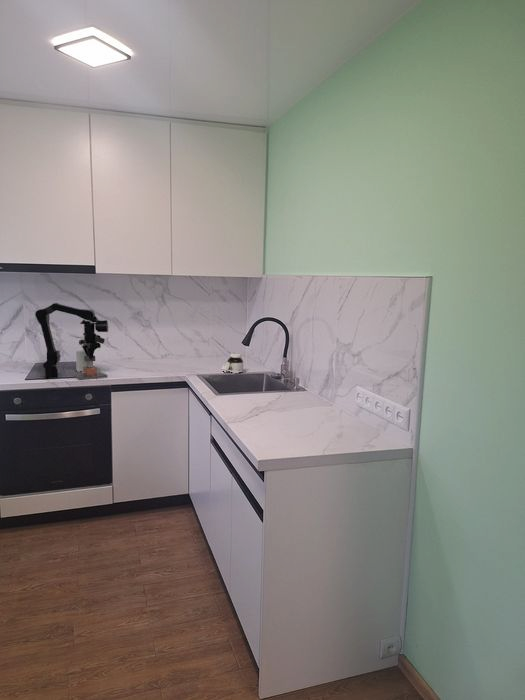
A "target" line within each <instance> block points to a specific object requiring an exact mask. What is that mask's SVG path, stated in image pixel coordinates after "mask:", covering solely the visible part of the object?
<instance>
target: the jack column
mask: <svg viewBox="0 0 525 700" xmlns="http://www.w3.org/2000/svg"><path fill="white" fill-rule="evenodd" d="M84 358H85V361H86V362H87V367H88V368H91V367H93V366H94V362H96V356H95V355H94V354H93V358H92V359H90V357H89V356H84Z"/></svg>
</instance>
